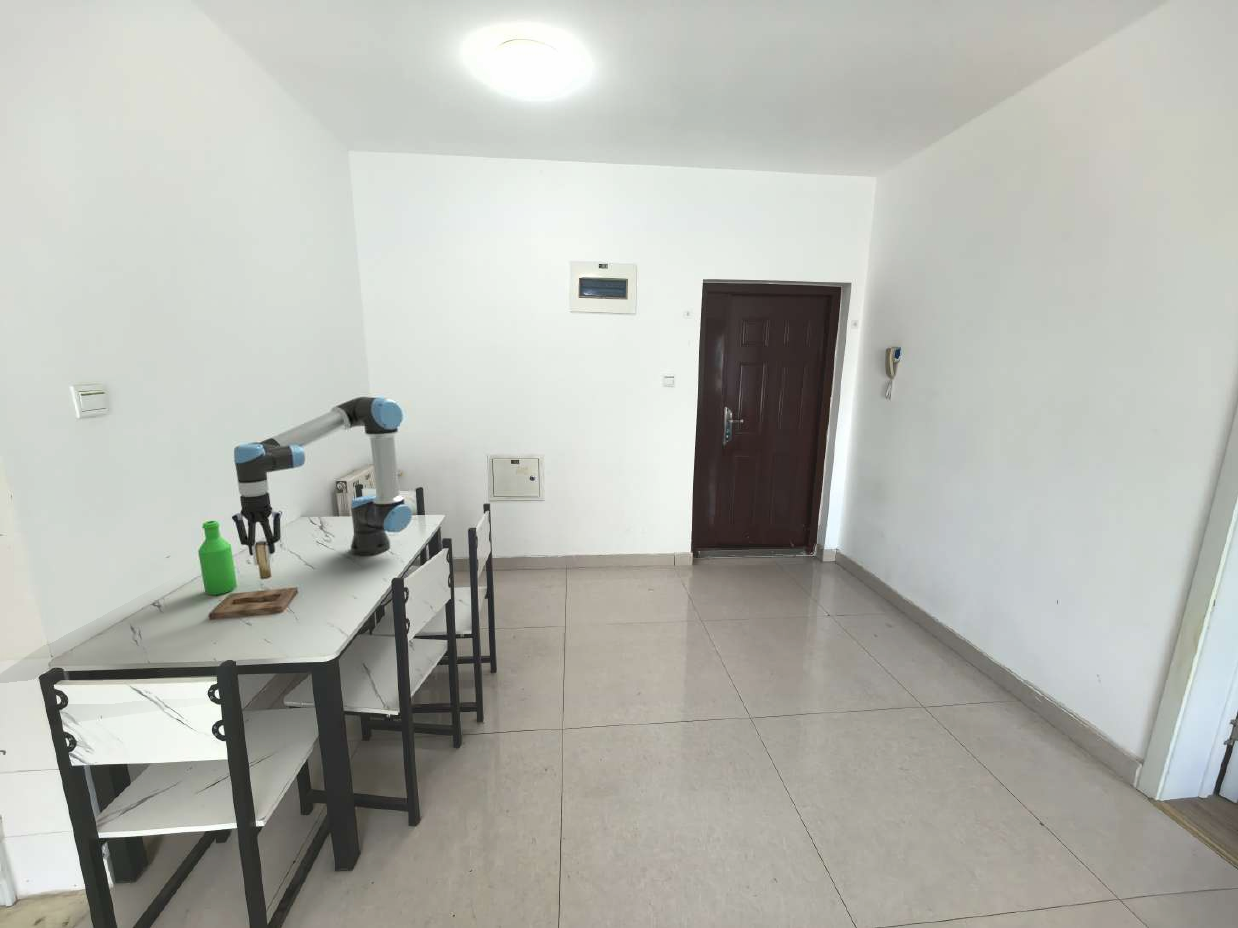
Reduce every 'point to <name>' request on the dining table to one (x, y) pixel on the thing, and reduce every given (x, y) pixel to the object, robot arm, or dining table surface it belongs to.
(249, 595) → the keyhole board
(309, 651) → the dining table surface
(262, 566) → the peg
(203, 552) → the bottle
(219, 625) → the dining table surface
